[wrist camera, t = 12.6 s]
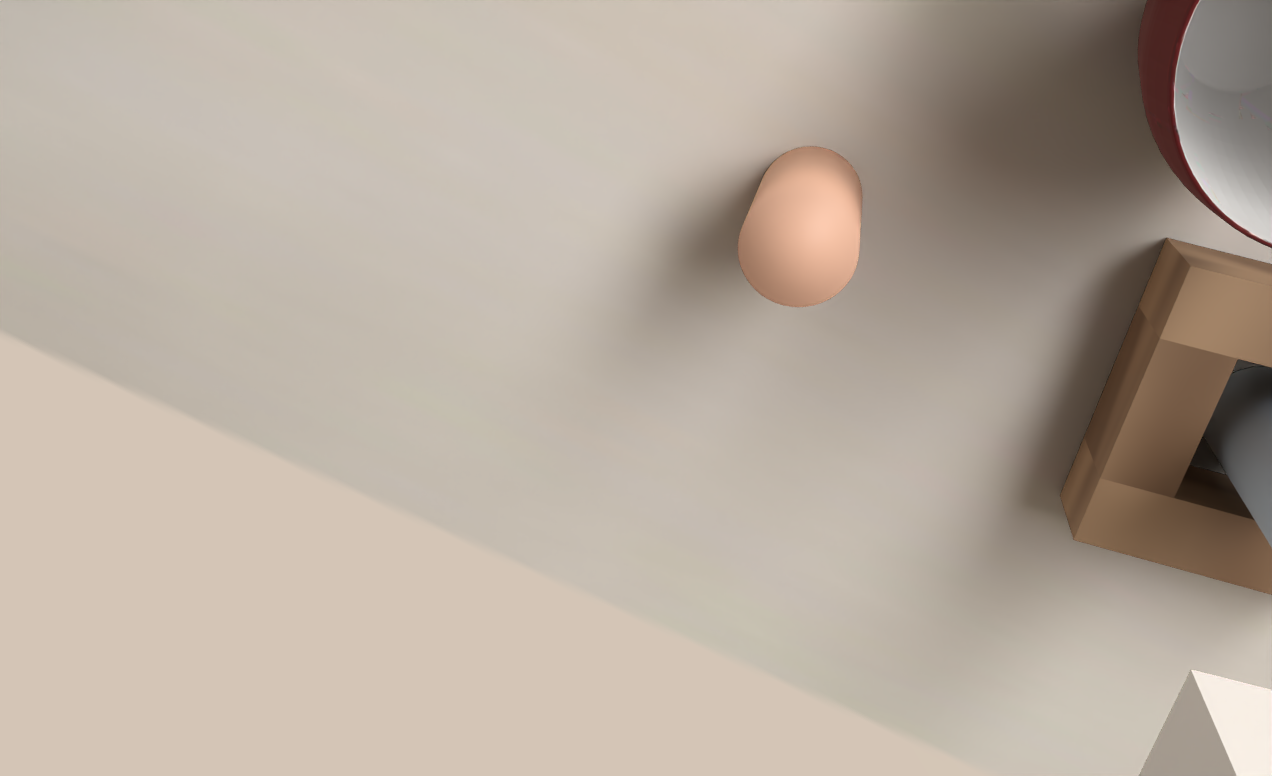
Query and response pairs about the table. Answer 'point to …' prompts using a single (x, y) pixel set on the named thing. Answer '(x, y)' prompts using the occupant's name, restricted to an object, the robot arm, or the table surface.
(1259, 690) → the robot arm
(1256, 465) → the long peg
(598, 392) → the table surface
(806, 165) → the short peg
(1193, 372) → the socket block
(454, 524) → the table surface
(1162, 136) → the mug
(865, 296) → the table surface
